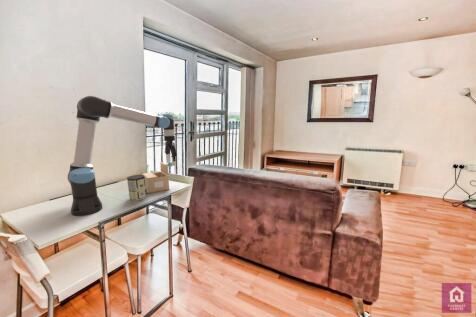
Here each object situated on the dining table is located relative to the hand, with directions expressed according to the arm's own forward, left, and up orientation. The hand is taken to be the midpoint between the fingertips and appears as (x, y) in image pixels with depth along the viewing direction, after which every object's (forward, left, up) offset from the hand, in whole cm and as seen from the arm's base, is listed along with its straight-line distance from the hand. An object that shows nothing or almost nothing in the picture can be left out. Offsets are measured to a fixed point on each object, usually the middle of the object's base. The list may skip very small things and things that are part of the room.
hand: (171, 164), depth 178 cm
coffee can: (-28, -14, -17) cm, 35 cm away
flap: (-6, 0, -2) cm, 6 cm away
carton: (-13, 0, -16) cm, 21 cm away
